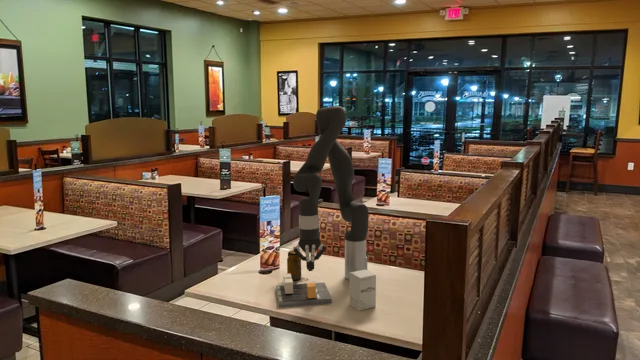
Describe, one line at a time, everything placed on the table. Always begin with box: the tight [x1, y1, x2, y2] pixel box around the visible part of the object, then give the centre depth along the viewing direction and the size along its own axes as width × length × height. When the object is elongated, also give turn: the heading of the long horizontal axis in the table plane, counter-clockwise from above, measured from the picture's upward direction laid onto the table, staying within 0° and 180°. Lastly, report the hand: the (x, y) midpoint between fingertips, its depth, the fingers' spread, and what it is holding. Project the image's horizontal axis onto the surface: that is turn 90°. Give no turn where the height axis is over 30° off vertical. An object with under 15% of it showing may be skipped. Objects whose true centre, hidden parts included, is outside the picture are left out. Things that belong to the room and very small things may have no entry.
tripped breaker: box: [306, 282, 316, 298], centre depth 184 cm, size 3×4×4 cm
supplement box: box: [349, 269, 377, 311], centre depth 180 cm, size 7×7×13 cm
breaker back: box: [282, 273, 292, 288], centre depth 195 cm, size 3×4×4 cm
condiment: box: [286, 250, 308, 284], centre depth 209 cm, size 7×8×12 cm
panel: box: [275, 282, 333, 308], centre depth 190 cm, size 20×17×2 cm
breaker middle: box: [284, 279, 294, 294], centre depth 189 cm, size 3×4×4 cm
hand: (310, 270), depth 183 cm, fingers closed
